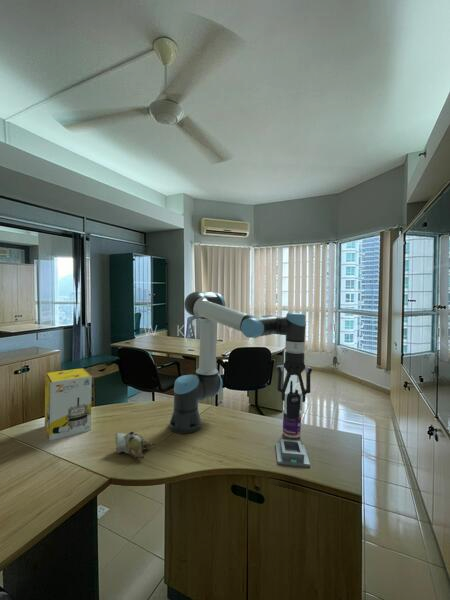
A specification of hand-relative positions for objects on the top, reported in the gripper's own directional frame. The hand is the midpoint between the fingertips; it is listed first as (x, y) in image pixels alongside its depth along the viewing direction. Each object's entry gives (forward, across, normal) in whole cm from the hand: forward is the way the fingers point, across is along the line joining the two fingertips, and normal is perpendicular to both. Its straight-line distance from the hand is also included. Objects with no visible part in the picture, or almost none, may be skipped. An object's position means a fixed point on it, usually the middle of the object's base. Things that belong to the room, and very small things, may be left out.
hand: (292, 408), depth 114 cm
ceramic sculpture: (+19, -63, -8) cm, 66 cm away
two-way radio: (+4, 0, 0) cm, 4 cm away
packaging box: (+19, -101, +6) cm, 103 cm away
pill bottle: (+19, +2, +17) cm, 26 cm away
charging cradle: (+19, 0, 0) cm, 19 cm away
